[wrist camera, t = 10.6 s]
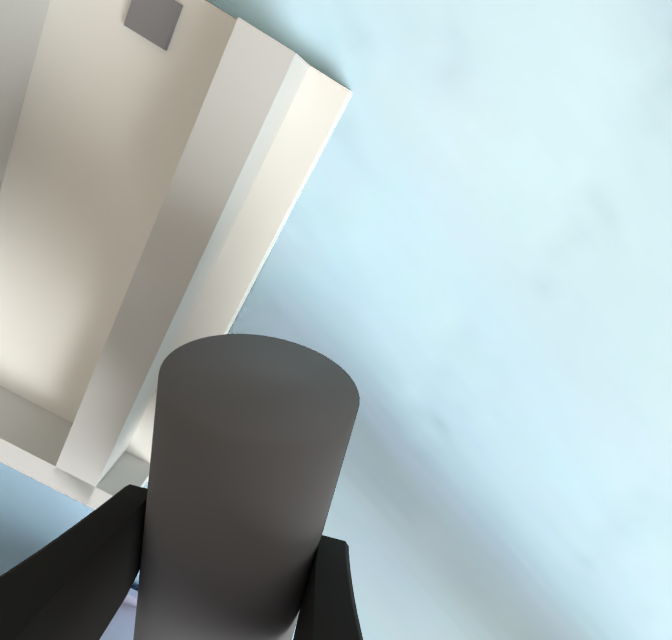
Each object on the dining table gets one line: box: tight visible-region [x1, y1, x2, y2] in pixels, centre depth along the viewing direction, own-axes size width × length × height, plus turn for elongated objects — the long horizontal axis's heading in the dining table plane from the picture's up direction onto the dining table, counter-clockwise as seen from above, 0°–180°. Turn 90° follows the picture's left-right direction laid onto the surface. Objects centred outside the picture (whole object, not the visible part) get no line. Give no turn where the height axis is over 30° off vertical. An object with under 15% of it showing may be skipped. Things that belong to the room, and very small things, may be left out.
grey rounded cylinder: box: [133, 334, 359, 640], centre depth 11 cm, size 9×4×4 cm, turn 167°
